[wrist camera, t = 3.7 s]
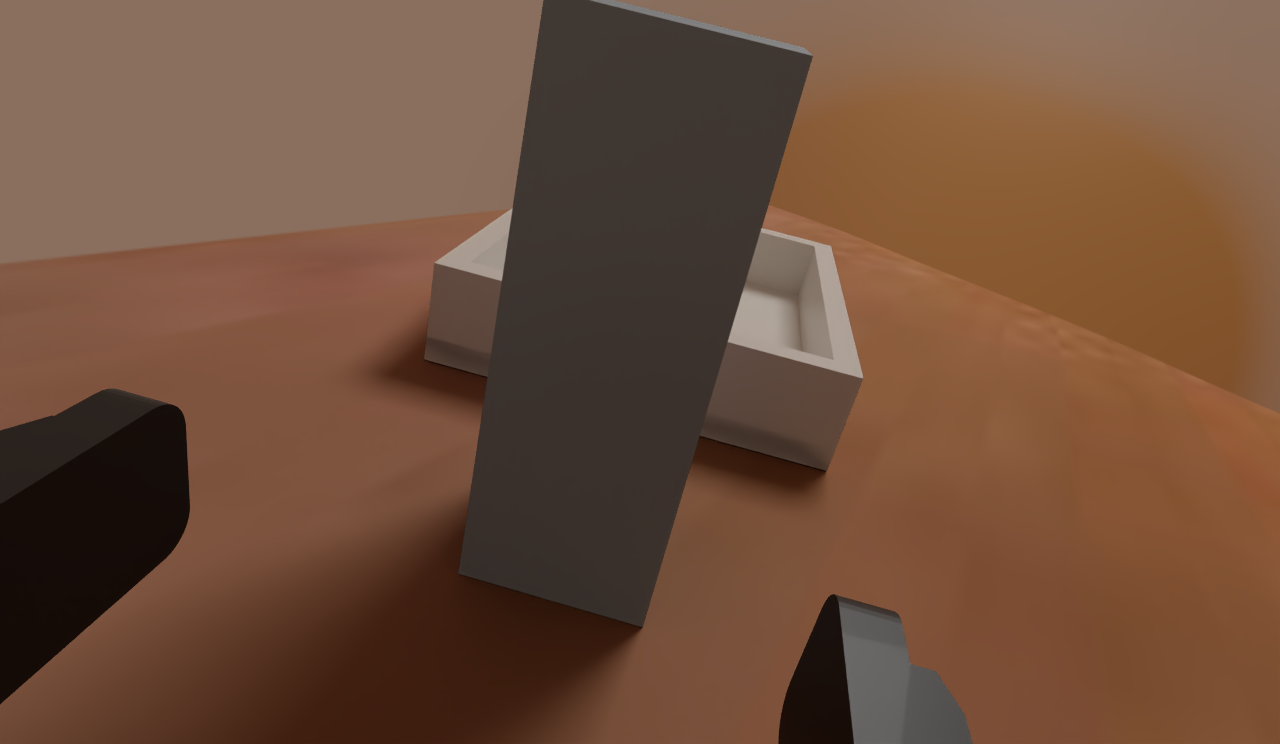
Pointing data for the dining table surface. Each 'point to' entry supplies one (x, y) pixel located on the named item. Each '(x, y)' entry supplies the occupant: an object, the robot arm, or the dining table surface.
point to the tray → (753, 359)
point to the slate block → (619, 292)
